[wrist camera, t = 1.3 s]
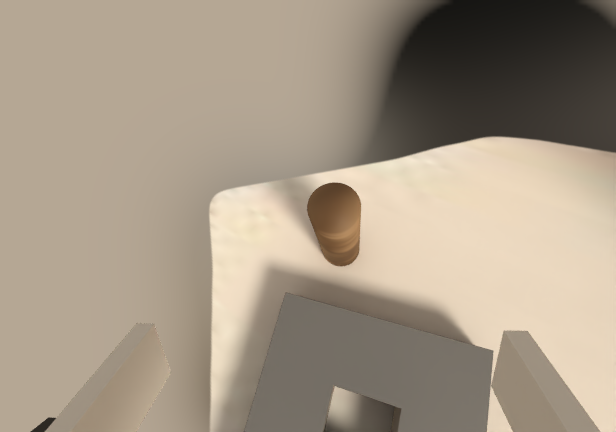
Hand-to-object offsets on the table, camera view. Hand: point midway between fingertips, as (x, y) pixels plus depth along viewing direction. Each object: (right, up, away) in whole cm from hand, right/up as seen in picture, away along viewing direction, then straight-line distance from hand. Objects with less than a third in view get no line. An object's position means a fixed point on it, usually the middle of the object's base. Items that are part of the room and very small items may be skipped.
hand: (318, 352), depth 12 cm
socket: (+5, -15, +19) cm, 25 cm away
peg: (+4, +1, +26) cm, 26 cm away
